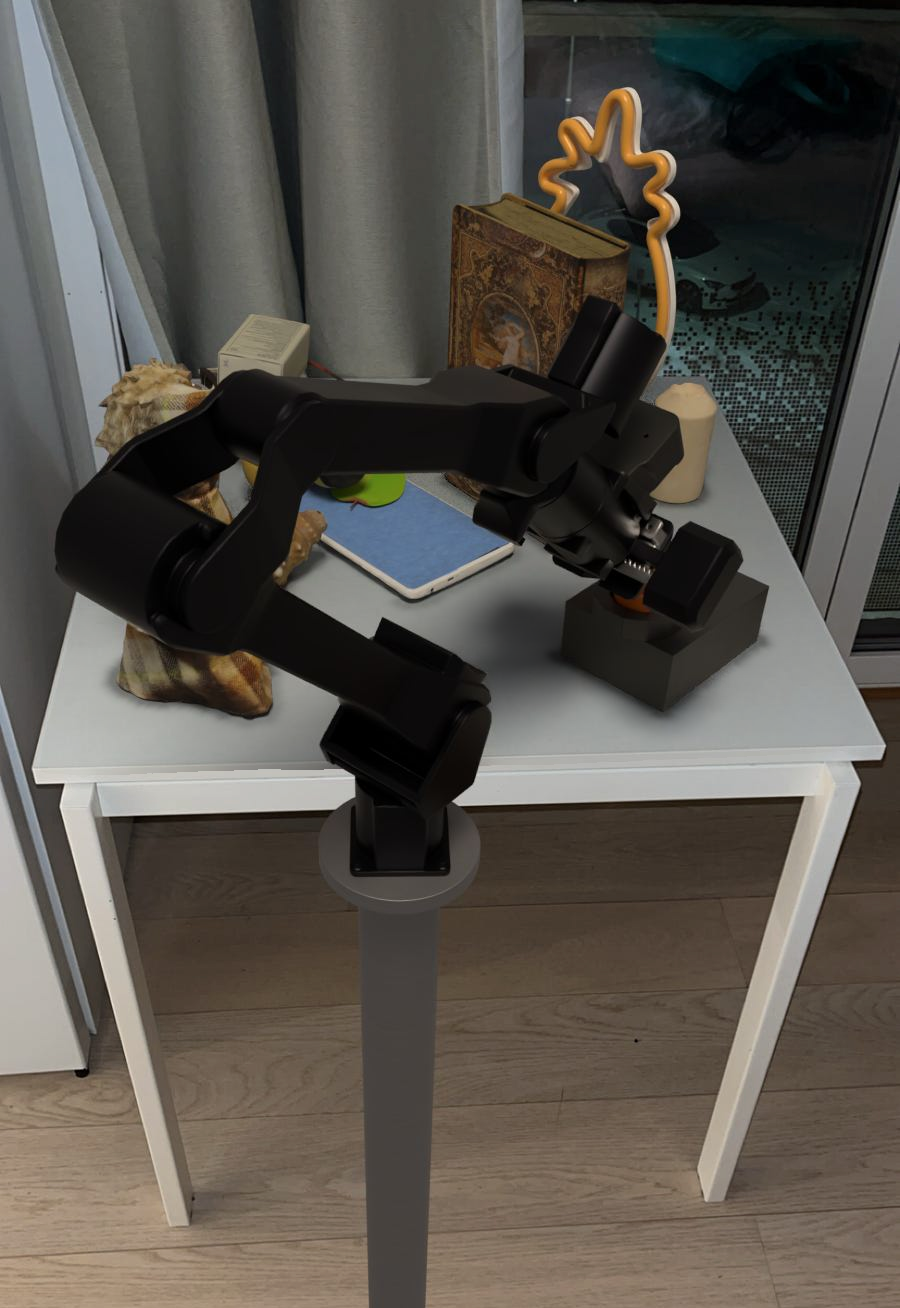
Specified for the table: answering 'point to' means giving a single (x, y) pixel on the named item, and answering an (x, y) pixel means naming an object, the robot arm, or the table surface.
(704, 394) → the candle
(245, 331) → the cosmetic box
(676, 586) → the robot arm
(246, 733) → the table surface
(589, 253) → the book
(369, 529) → the tablet
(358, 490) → the decorative leaf
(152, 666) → the brown cream tall piece
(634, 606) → the power button
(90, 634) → the table surface
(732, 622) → the button base
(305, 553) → the seashell
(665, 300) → the lamp
